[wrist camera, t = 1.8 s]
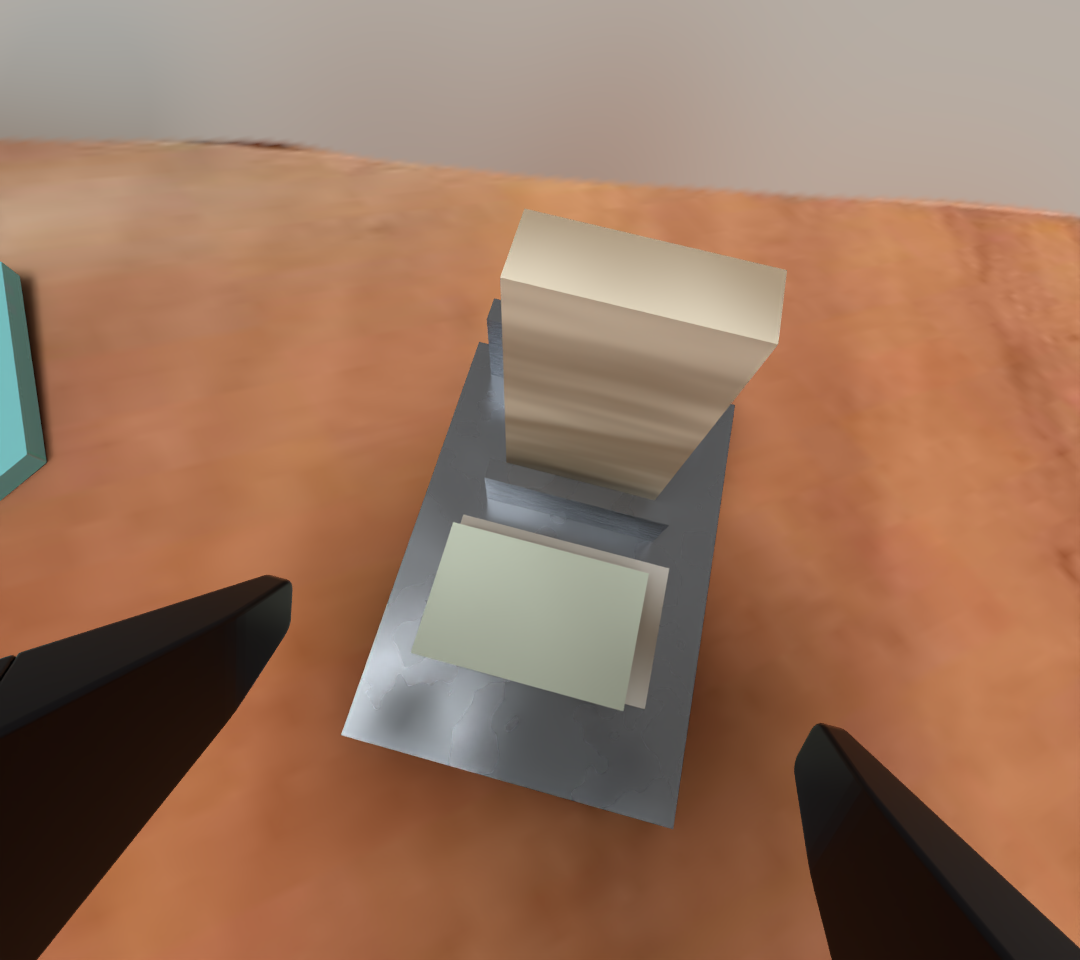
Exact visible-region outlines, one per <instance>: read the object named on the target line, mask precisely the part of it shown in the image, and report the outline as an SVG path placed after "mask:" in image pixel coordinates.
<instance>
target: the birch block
mask: <svg viewBox="0 0 1080 960" xmlns="http://www.w3.org/2000/svg"><path fill="white" fill-rule="evenodd" d="M786 274H787V270H784V269H780V268H775V267H771V266H767V265H763V264H758V263H754V262H750V261H746V260H741V259H737V258H733V257H729V256H724V255H720V254H716V253H711V252H707V251H703V250H699V249H694V248H690V247H686V246H682V245H677V244H673V243H669V242H665V241H660V240H656V239H652V238H648V237H643V236H639V235H635V234H631V233H626V232H622V231H618V230H614V229H609V228H605V227H601V226H596V225H592V224H588V223H584V222H579V221H575V220H571V219H567V218H562V217H558V216H554V215H550V214H545V213H541V212H537V211H533V210H528V209H524V212H523V215H522V217H521V220H520V223H519V226H518V229H517V232H516V234H515V237H514V240H513V243H512V246H511V249H510V251H509V254H508V257H507V260H506V263H505V266H504V268H503V271H502V274H501V277H500V282H501V313H502V343H503V373H504V403H505V433H506V462H507V463H511V464H515V465H519V466H522V467H526V468H530V469H534V470H538V471H542V472H546V473H550V474H554V475H557V476H561V477H565V478H569V479H573V480H577V481H581V482H585V483H589V484H593V485H596V486H600V487H604V488H608V489H612V490H616V491H620V492H624V493H628V494H631V495H635V496H639V497H643V498H647V499H651V500H655V499H656V498H657V497H658V495H659V494H660V493H661V492H662V490H663V489H664V488H665V487H666V485H667V484H668V483H669V482H670V480H671V479H672V478H673V477H674V475H675V474H676V473H677V471H678V470H679V469H680V468H681V466H682V465H683V464H684V463H685V461H686V460H687V459H688V458H689V456H690V455H691V454H692V453H693V451H694V450H695V449H696V447H697V446H698V445H699V444H700V442H701V441H702V440H703V439H704V437H705V436H706V435H707V434H708V432H709V431H710V430H711V428H712V427H713V426H714V425H715V423H716V422H717V421H718V420H719V418H720V417H721V416H722V415H723V413H724V412H725V411H726V410H727V408H728V407H729V406H730V404H731V403H732V402H733V401H734V399H735V398H736V397H737V396H738V394H739V393H740V392H741V391H742V389H743V388H744V387H745V386H746V384H747V383H748V382H749V380H750V379H751V378H752V377H753V375H754V374H755V373H756V372H757V370H758V369H759V368H760V367H761V365H762V364H763V363H764V362H765V360H766V359H767V358H768V356H769V355H770V354H771V353H772V351H773V350H774V349H775V348H776V346H777V345H778V341H779V333H780V324H781V316H782V307H783V299H784V291H785V282H786Z"/></svg>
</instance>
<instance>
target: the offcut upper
mask: <svg viewBox="0 0 1080 960" xmlns="http://www.w3.org/2000/svg"><path fill="white" fill-rule="evenodd" d="M648 576H649V573H645V572H641V571H638V570H634V569H630V568H626V567H622V566H619V565H615V564H611V563H607V562H603V561H600V560H596V559H592V558H588V557H584V556H581V555H577V554H573V553H569V552H565V551H561V550H558V549H554V548H550V547H546V546H542V545H539V544H535V543H531V542H527V541H523V540H520V539H516V538H512V537H508V536H504V535H501V534H497V533H493V532H489V531H485V530H482V529H478V528H474V527H470V526H466V525H463V524H459V523H455V522H453V524H452V527H451V531H450V534H449V537H448V540H447V543H446V546H445V549H444V552H443V555H442V558H441V561H440V564H439V567H438V570H437V574H436V577H435V580H434V583H433V586H432V589H431V592H430V595H429V598H428V601H427V604H426V607H425V610H424V613H423V616H422V620H421V623H420V626H419V629H418V632H417V635H416V638H415V641H414V644H413V647H412V650H411V653H413V654H417V655H420V656H424V657H428V658H431V659H435V660H438V661H442V662H446V663H449V664H453V665H457V666H460V667H464V668H468V669H471V670H475V671H478V672H482V673H486V674H489V675H493V676H497V677H500V678H504V679H508V680H511V681H515V682H518V683H522V684H526V685H529V686H533V687H537V688H540V689H544V690H548V691H551V692H555V693H558V694H562V695H566V696H569V697H573V698H577V699H580V700H584V701H588V702H591V703H595V704H598V705H602V706H606V707H609V708H613V709H617V710H620V711H623V710H624V705H625V699H626V694H627V689H628V683H629V678H630V673H631V667H632V662H633V656H634V651H635V646H636V640H637V635H638V630H639V624H640V619H641V613H642V608H643V603H644V597H645V592H646V587H647V581H648Z"/></svg>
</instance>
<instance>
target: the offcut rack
mask: <svg viewBox="0 0 1080 960" xmlns="http://www.w3.org/2000/svg"><path fill="white" fill-rule="evenodd" d="M487 326H488V340H489V344H486V343H481V342H479V344H478V347H477V350H476V353H475V356H474V358H473V361H472V364H471V367H470V370H469V373H468V376H467V378H466V381H465V384H464V387H463V390H462V393H461V395H460V398H459V401H458V404H457V407H456V410H455V413H454V415H453V418H452V421H451V424H450V427H449V430H448V432H447V435H446V438H445V441H444V444H443V447H442V449H441V452H440V455H439V458H438V461H437V464H436V467H435V469H434V472H433V475H432V478H431V481H430V484H429V486H428V489H427V492H426V495H425V498H424V501H423V504H422V506H421V509H420V512H419V515H418V518H417V521H416V523H415V526H414V529H413V532H412V535H411V538H410V541H409V543H408V546H407V549H406V552H405V555H404V558H403V560H402V563H401V566H400V569H399V572H398V575H397V578H396V580H395V583H394V586H393V589H392V592H391V595H390V597H389V600H388V603H387V606H386V609H385V612H384V615H383V617H382V620H381V623H380V626H379V629H378V632H377V634H376V637H375V640H374V643H373V646H372V649H371V652H370V654H369V657H368V660H367V663H366V666H365V669H364V671H363V674H362V677H361V680H360V683H359V686H358V688H357V691H356V694H355V697H354V700H353V703H352V706H351V708H350V711H349V714H348V717H347V720H346V723H345V725H344V728H343V731H342V734H341V735H343V736H346V737H350V738H353V739H357V740H360V741H364V742H367V743H371V744H375V745H378V746H382V747H385V748H389V749H392V750H396V751H399V752H403V753H406V754H410V755H413V756H417V757H420V758H424V759H427V760H431V761H434V762H438V763H442V764H445V765H449V766H452V767H456V768H459V769H463V770H466V771H470V772H473V773H477V774H480V775H484V776H487V777H491V778H494V779H498V780H501V781H505V782H508V783H512V784H516V785H519V786H523V787H526V788H530V789H533V790H537V791H540V792H544V793H547V794H551V795H554V796H558V797H561V798H565V799H568V800H572V801H575V802H579V803H582V804H586V805H590V806H593V807H597V808H600V809H604V810H607V811H611V812H614V813H618V814H621V815H625V816H628V817H632V818H635V819H639V820H642V821H646V822H649V823H653V824H656V825H660V826H664V827H667V828H671V829H673V827H674V820H675V813H676V806H677V799H678V792H679V785H680V779H681V772H682V765H683V758H684V751H685V744H686V737H687V731H688V724H689V717H690V710H691V703H692V696H693V689H694V682H695V676H696V669H697V662H698V655H699V648H700V641H701V634H702V628H703V621H704V614H705V607H706V600H707V593H708V586H709V579H710V573H711V566H712V559H713V552H714V545H715V538H716V531H717V525H718V518H719V511H720V504H721V497H722V490H723V483H724V476H725V470H726V463H727V456H728V449H729V442H730V435H731V428H732V422H733V415H734V408H735V405H732V404H730V406H729V407H728V408H727V410H726V411H725V412H724V413H723V415H722V416H721V417H720V418H719V420H718V421H717V422H716V423H715V425H714V426H713V427H712V428H711V430H710V431H709V432H708V434H707V435H706V436H705V437H704V439H703V440H702V441H701V442H700V444H699V445H698V446H697V447H696V449H695V450H694V451H693V453H692V454H691V455H690V456H689V458H688V459H687V460H686V461H685V463H684V464H683V465H682V466H681V468H680V469H679V470H678V471H677V473H676V474H675V475H674V477H673V478H672V479H671V480H670V482H669V483H668V484H667V485H666V487H665V488H664V489H663V490H662V492H661V493H660V494H659V495H658V497H657V498H656V499H655V500H651V499H647V498H643V497H639V496H635V495H631V494H628V493H624V492H620V491H616V490H612V489H608V488H604V487H600V486H596V485H593V484H589V483H585V482H581V481H577V480H573V479H569V478H565V477H561V476H557V475H554V474H550V473H546V472H542V471H538V470H534V469H530V468H526V467H522V466H519V465H515V464H511V463H507V462H506V433H505V403H504V373H503V343H502V313H501V300H498V299H494V301H493V304H492V306H491V309H490V312H489V315H488V318H487ZM463 514H464V515H467V516H471V517H475V518H479V519H483V520H486V521H490V522H494V523H498V524H502V525H506V526H509V527H513V528H517V529H521V530H525V531H528V532H532V533H536V534H540V535H544V536H548V537H551V538H555V539H559V540H563V541H567V542H570V543H574V544H578V545H582V546H586V547H590V548H593V549H597V550H601V551H605V552H609V553H612V554H616V555H620V556H624V557H628V558H631V559H635V560H639V561H643V562H647V563H651V564H654V565H658V566H662V567H666V568H669V573H668V578H667V584H666V590H665V596H664V601H663V607H662V613H661V619H660V625H659V630H658V636H657V642H656V648H655V653H654V659H653V665H652V671H651V676H650V682H649V688H648V694H647V700H646V705H645V709H642V708H638V707H634V706H630V705H627V704H625V705H624V710H623V711H620V710H617V709H613V708H609V707H606V706H602V705H598V704H595V703H591V702H588V701H584V700H580V699H577V698H573V697H569V696H566V695H562V694H558V693H555V692H551V691H548V690H544V689H540V688H537V687H533V686H529V685H526V684H522V683H518V682H515V681H511V680H508V679H504V678H500V677H497V676H493V675H489V674H486V673H482V672H478V671H475V670H471V669H468V668H464V667H460V666H457V665H453V664H449V663H446V662H442V661H438V660H435V659H431V658H428V657H424V656H420V655H417V654H413V653H411V650H412V647H413V644H414V641H415V638H416V635H417V632H418V629H419V626H420V623H421V620H422V616H423V613H424V610H425V607H426V604H427V601H428V598H429V595H430V592H431V589H432V586H433V583H434V580H435V577H436V574H437V570H438V567H439V564H440V561H441V558H442V555H443V552H444V549H445V546H446V543H447V540H448V537H449V534H450V531H451V527H452V524H453V522H455V523H459V524H460V523H461V520H462V517H463Z"/></svg>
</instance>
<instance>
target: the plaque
mask: <svg viewBox="0 0 1080 960" xmlns="http://www.w3.org/2000/svg"><path fill="white" fill-rule="evenodd" d="M46 463H47V461H46V454H45V447H44V440H43V434H42V427H41V420H40V413H39V406H38V399H37V392H36V385H35V378H34V371H33V364H32V357H31V350H30V343H29V336H28V329H27V322H26V315H25V308H24V301H23V294H22V288H21V281H20V276H19V275H18V274H16V273H15V272H14V271H12V270H11V269H10V268H9V267H7V266H6V265H5V264H3V263H2V262H0V500H2V499H3V498H4V497H5V496H7V495H8V494H9V493H10V492H12V491H13V490H14V489H15V488H17V487H18V486H19V485H20V484H22V483H23V482H24V481H25V480H26V479H28V478H29V477H30V476H31V475H32V474H34V473H35V472H36V471H37V470H38V469H40V468H41V467H42V466H43V465H44V464H46Z"/></svg>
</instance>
